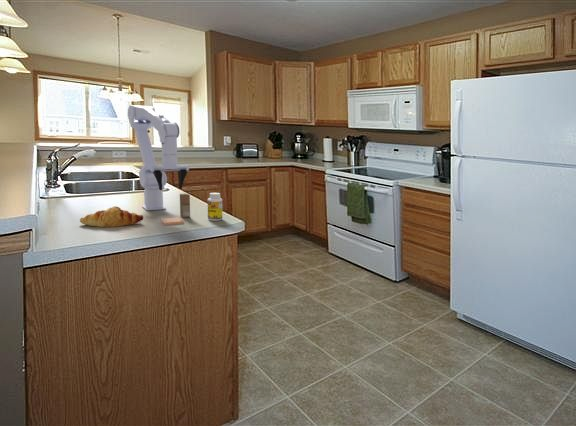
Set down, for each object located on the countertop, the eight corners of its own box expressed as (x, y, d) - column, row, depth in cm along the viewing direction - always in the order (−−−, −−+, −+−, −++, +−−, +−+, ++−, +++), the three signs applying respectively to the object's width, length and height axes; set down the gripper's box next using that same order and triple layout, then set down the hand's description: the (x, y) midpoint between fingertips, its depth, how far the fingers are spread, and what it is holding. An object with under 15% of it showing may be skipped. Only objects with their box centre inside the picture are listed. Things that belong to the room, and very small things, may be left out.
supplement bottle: (204, 219, 157) (204, 193, 155) (214, 217, 162) (213, 191, 160) (216, 221, 155) (215, 195, 152) (225, 219, 159) (225, 193, 157)
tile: (160, 218, 153) (164, 222, 147) (179, 217, 156) (184, 221, 150) (160, 222, 153) (164, 226, 147) (179, 220, 157) (184, 224, 151)
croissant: (79, 237, 142) (74, 219, 137) (83, 218, 150) (79, 201, 145) (143, 233, 147) (141, 216, 142) (145, 215, 155) (142, 198, 150)
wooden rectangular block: (180, 216, 162) (179, 193, 160) (187, 215, 163) (187, 193, 162) (182, 218, 159) (182, 195, 157) (190, 217, 161) (189, 194, 159)
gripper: (152, 155, 152) (154, 191, 155) (191, 155, 160) (191, 189, 162) (148, 154, 158) (149, 189, 161) (185, 153, 165) (186, 187, 168)
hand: (170, 189), depth 162 cm, fingers open, 7 cm apart
